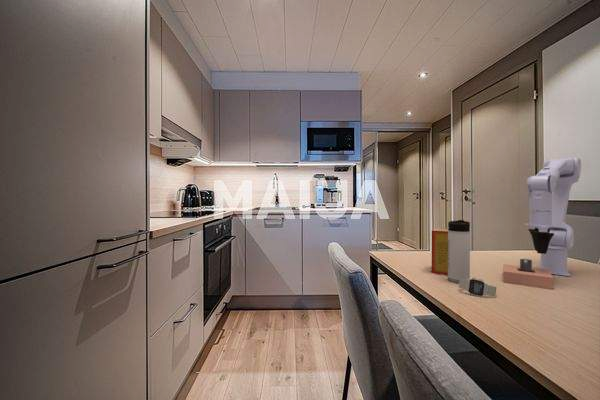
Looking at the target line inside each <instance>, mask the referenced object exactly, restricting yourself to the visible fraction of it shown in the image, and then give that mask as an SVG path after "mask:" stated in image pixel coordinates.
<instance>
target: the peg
mask: <svg viewBox="0 0 600 400" xmlns="http://www.w3.org/2000/svg"><path fill="white" fill-rule="evenodd" d="M532 264H533V260H532V259H529V258H520V259H519V266H520V271H524V272H532V268H533V265H532Z"/></svg>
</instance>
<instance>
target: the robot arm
mask: <svg viewBox="0 0 600 400" xmlns="http://www.w3.org/2000/svg"><path fill="white" fill-rule="evenodd" d="M581 170H582V161H581V158H579V157H578V156H575V157H565V158H557V159H556V158H555V159H546V160H545V161H543V164H542V168H541V170H539V171H538V172H537V174H535V175H531V176H530V177H528V178H527V181H526V189H527V197H528V198H529V219H528V220H529V221H528V222H529V223H527V222H526V223H524V225H525V226H527V227H532V228H529V229H528V231H529V233H530V236H531V239H532V242H533V247H534V249H535V250H536V253H537V254H540V265H539V266H537V268H541V269H548V270H549V272H550V273H551V275H557V276H566V277H571V273H569V271H568V250H571V249H572V248H573V246H574V242H575V237H574V234H575V231H574V229H573V228H572V226H570V225H569V224H567V223H566V217H567V210H568V205H569V199H570V193H571V189H572V186H573V184H575V183H577V182H579V179H580V176H581V172H582V171H581Z"/></svg>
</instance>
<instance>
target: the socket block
mask: <svg viewBox="0 0 600 400" xmlns="http://www.w3.org/2000/svg"><path fill="white" fill-rule="evenodd" d="M502 264H503V265H502V268H503V269H502V271H503V272H502V276H503V277H502V278H503V279H502V280H503V283H507V284H515V285H520V286H527V287H528V286H529V287H535V288H541V289H548V290H554V276H553V274H551V273H550V272H549V270H548V269H541V268H538V267H532V272H524V271H520V265H515V264H504V263H502Z"/></svg>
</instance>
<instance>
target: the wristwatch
mask: <svg viewBox="0 0 600 400" xmlns="http://www.w3.org/2000/svg"><path fill="white" fill-rule="evenodd" d="M458 288H460V289H463V290H465V291H467V293H469V294H470V295H471V296H475V297H477V298H478V297H479V298H480V297H483V296H489V297H496V295H497V286H493V285H491V284H489V285H488V283H486V282H484V281H483V279H481V278H480V279H479V278H476V277H472V278H470V280H465V279H460V281H459V283H458Z"/></svg>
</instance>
